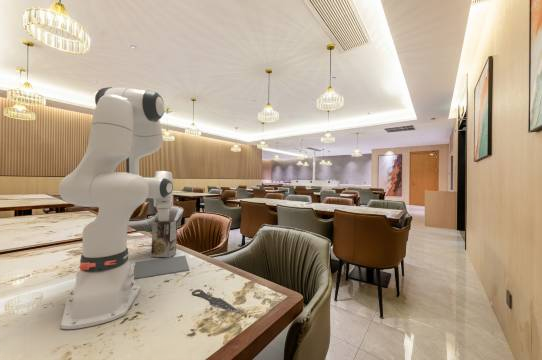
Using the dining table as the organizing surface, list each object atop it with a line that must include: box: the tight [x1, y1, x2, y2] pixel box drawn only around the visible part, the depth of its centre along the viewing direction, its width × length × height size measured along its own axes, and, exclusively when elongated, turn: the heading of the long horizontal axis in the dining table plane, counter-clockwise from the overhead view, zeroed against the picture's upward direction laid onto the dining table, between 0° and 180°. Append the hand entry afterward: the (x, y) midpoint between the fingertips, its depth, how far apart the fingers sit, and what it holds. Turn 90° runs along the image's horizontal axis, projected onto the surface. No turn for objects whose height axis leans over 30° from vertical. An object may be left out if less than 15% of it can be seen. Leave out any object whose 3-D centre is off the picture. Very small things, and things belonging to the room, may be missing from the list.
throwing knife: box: [191, 289, 240, 313], centre depth 70 cm, size 4×20×1 cm, turn 57°
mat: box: [133, 255, 190, 280], centre depth 94 cm, size 17×20×1 cm
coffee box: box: [150, 219, 178, 258], centre depth 107 cm, size 9×6×16 cm
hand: (163, 229), depth 115 cm, fingers closed
